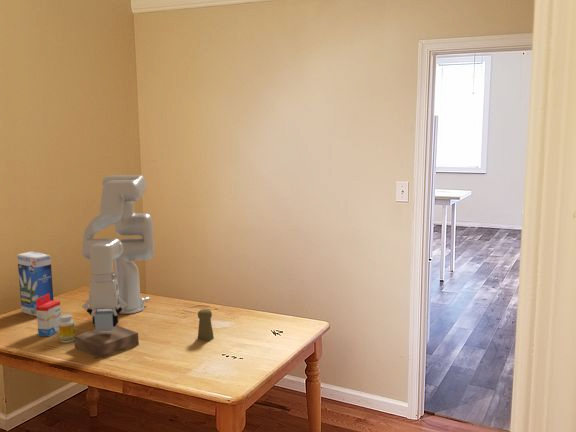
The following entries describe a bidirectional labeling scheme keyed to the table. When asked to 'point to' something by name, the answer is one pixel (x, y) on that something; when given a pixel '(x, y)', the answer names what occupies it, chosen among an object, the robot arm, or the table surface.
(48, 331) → the ink box
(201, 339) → the cork
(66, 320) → the supplement bottle
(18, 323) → the table surface
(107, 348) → the walnut block
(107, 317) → the blue cube
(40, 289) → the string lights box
